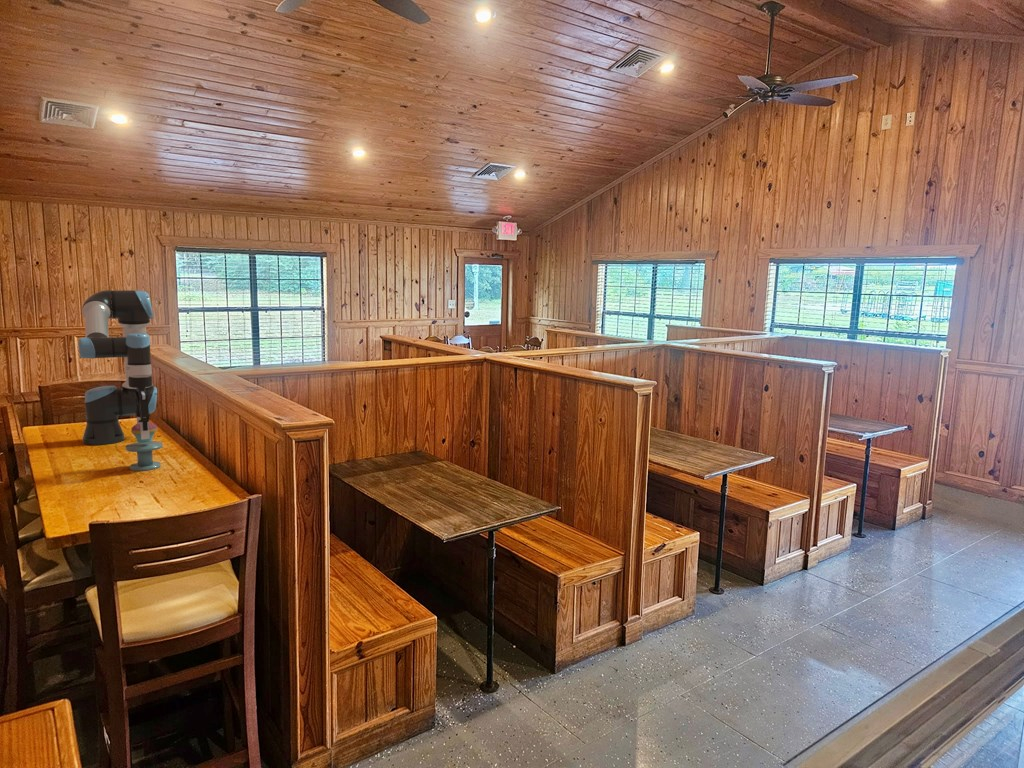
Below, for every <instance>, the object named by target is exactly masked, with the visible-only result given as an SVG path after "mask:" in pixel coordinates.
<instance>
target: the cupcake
mask: <svg viewBox="0 0 1024 768" xmlns="http://www.w3.org/2000/svg"><path fill="white" fill-rule="evenodd" d="M157 431H158V426H157V425H156V424H154V423H152V422H149V433H150V439H143V440H141V429H140V423H138V424H137V423H136V424H135V425H133V426H132V427H131V430H130V432H131V433H132V434H133V436H134V437H135V439H136V443H137V442H139V443H147V442H151V441H153V440H154V439H153V438H154V435H155V433H156V432H157Z"/></svg>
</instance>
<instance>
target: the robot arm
mask: <svg viewBox="0 0 1024 768" xmlns="http://www.w3.org/2000/svg"><path fill="white" fill-rule="evenodd" d="M81 314H82V317H83V318H84V319H85V320H84V326H85V327H84V329H85V330H84V331H85V334H84V337H80V338H79V339H78V352H79V353H78V354H79V357H80V358H82V359H92V360H93V359H111V358H124V367H125V381H124V382H123V383H122V385H121V388H118V387H117V386H116V385H103V386H98V387H94V388H91V389H88V390H86V391H85V393H84V405H85V406H84V407H85V418H86V421H85V423H86V425H85V429H84V432H83V436H82V443H83V444H84V445H89V446H90V445H91V446H92V445H93V446H98V445H99V446H100V445H109V444H110V445H111V444H116V443H119V442H122V441H124V440H125V433H124V431H123V429H122V426H121V425H120V422H119V417H121V416H122V417H123V416H136V424H138V423H140V429H141V440H143V439H150V433H149V423H150V420H151V419H150V414H152V413H154V412H155V411H156V408H157V400H158V389H157V387H156V386H154V383H153V377H152V374H153V370H152V368H153V367H152V360H151V340H150V335H149V333H147V326H148V325H149V324H150V323H151V321H150V320H152V319H154V313H153V308H152V302H151V298H150V295H149V293H148V292H147V291H145V290H136V289H135V290H130V289H129V290H125V289H124V290H114V289H113V290H111V289H110V290H109V289H107V290H105V289H104V290H101V291H98V292H96V293H94V294H92V295H90V296H89V297H88V298H87V299H86V300H85V301H84V302H83V304H82V308H81ZM108 319H109V320H110V319H112V320H113V319H114V320H116V319H117V323H118V324H119V325H120V326H121V327H122V336H119V337H118V336H114V337H113V336H112V337H111V336H110V334H109V320H108Z"/></svg>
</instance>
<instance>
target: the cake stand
mask: <svg viewBox="0 0 1024 768" xmlns="http://www.w3.org/2000/svg"><path fill="white" fill-rule="evenodd" d="M163 447H164V443H163V442H161V441H155V440H152V441H151V442H147V443H139V442H137V441H136V442H134V443H130V444H127V445H125V451H127V452H132V453H136V459H137V462H135V463H132V464H131V465H129V469H130V471H132V472H148V471H154V470H157V469H160V468H161V467H162V463H161V461H158V460H157V461H156V460H155V461H154V456H153V455H154V454H153V451H157V450H160V449H162V448H163Z"/></svg>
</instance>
